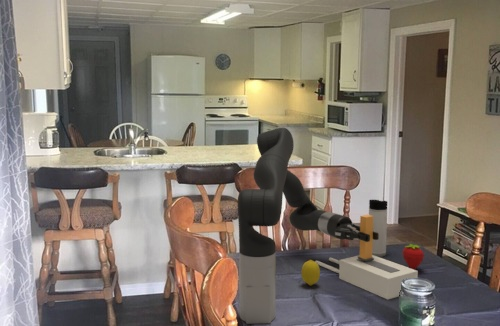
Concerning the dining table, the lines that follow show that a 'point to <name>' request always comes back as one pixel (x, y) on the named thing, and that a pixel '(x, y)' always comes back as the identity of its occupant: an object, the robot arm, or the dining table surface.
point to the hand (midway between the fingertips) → (373, 237)
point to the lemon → (310, 272)
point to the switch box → (375, 275)
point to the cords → (328, 265)
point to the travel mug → (379, 226)
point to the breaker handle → (365, 247)
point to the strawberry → (413, 256)
